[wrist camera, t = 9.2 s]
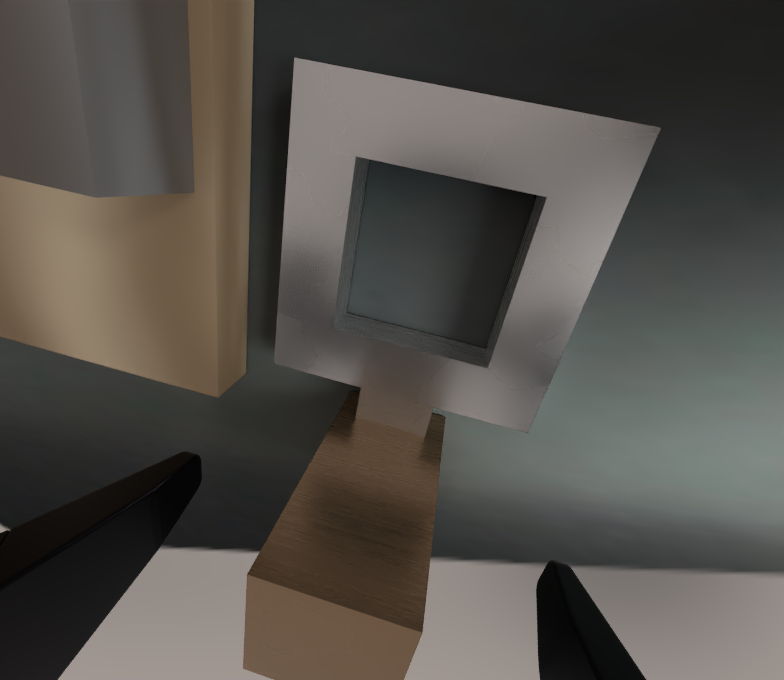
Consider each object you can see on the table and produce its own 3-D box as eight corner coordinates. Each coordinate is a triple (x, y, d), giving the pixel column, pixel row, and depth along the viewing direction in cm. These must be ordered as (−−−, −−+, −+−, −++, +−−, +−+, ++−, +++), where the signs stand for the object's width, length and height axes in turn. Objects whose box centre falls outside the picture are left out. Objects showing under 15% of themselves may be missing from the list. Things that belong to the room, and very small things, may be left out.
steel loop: (634, 134, 8) (1000, 37, 2) (482, 505, 12) (490, 756, 7) (317, 72, 8) (47, -111, 3) (283, 447, 13) (152, 635, 8)
